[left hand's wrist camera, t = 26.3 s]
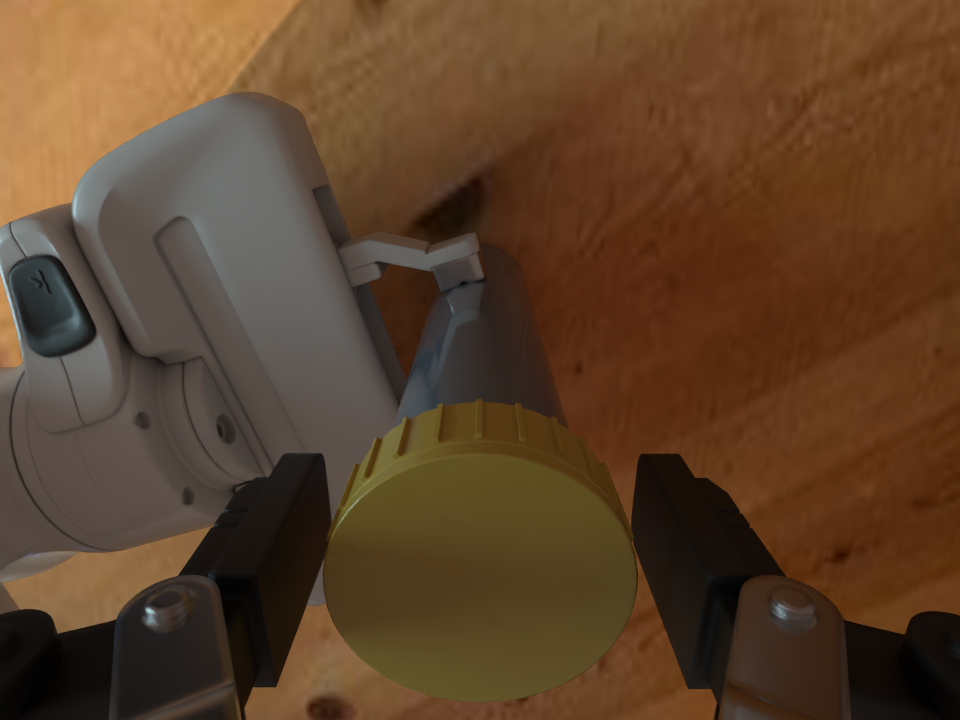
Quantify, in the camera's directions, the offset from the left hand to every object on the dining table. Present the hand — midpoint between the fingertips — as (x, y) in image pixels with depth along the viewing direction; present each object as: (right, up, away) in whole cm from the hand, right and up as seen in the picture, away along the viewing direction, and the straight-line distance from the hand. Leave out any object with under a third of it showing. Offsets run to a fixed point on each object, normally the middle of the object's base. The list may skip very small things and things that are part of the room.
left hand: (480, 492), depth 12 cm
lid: (0, -1, -2) cm, 2 cm away
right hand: (+1, +4, +10) cm, 11 cm away
